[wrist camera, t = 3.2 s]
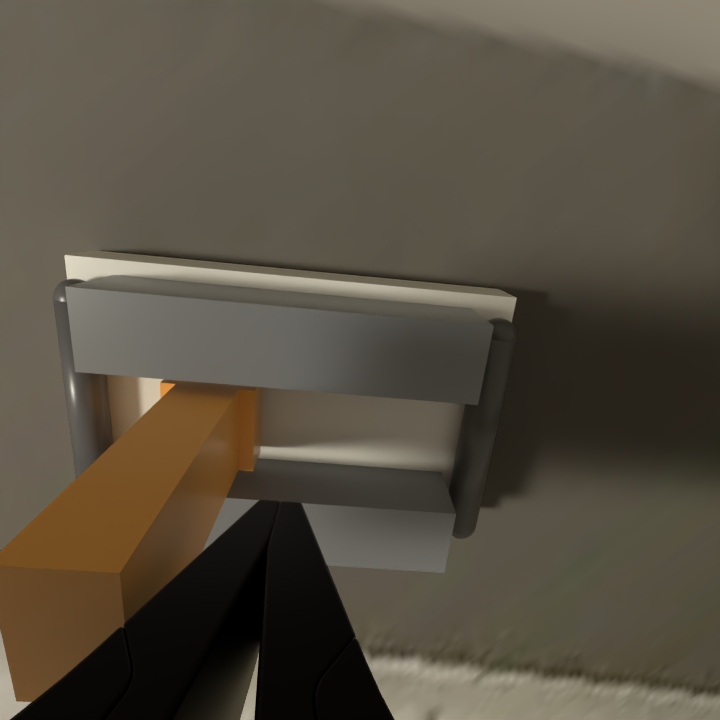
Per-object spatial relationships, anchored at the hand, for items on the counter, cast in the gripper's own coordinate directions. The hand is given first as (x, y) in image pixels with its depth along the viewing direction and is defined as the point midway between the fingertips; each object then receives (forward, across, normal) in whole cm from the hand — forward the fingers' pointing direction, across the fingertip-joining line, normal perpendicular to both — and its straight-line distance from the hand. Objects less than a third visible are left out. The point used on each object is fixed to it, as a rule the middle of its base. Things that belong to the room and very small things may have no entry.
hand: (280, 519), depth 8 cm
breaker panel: (+6, 0, 0) cm, 6 cm away
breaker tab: (+5, +2, 0) cm, 5 cm away
